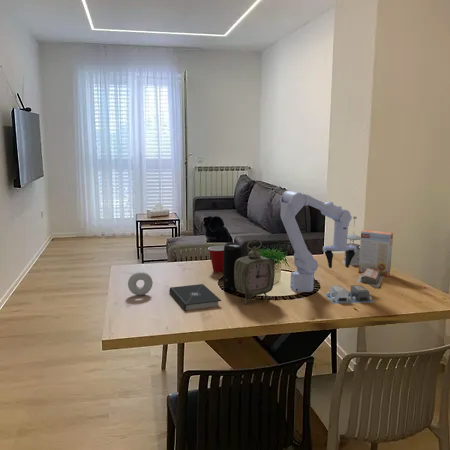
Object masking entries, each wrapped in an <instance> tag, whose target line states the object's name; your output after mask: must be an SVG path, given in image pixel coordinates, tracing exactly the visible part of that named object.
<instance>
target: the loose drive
mask: <svg viewBox="0 0 450 450" xmlns="http://www.w3.org/2000/svg"><path fill="white" fill-rule="evenodd" d="M349 292H350V295H351V296H352V297H356V300H357V301H358V302H359V301H369V296H370V290H368V289H366V288H365V287H364V286H363V285H360V284H359V285H357V284H355V285H350V291H349Z"/></svg>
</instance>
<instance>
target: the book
mask: <svg viewBox="0 0 450 450" xmlns="http://www.w3.org/2000/svg"><path fill="white" fill-rule="evenodd" d="M169 294H170V296H172V298H173V299H174V300H175V301H176V302H177V304H178V305H179V306H180V307H181V308H182V309H183V310H184V311H185V312H186V311H190V310H196V309H197V310H198V309H204V308H205V309H206V308H211V307H218V306H219V302H222V299H221V298H220V297H218V295H216V294H215V293H214V292H213V291H211V290H210V289H209V288H208V287H207V286H206V285H205V284H203V283H201V284H191V285H183V286H171V287H169Z"/></svg>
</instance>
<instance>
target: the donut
mask: <svg viewBox="0 0 450 450" xmlns="http://www.w3.org/2000/svg"><path fill="white" fill-rule="evenodd" d="M140 280H141V281H143V286H141V287H140V286H138V285H137V283H138V281H140ZM127 286H128V289H129V291H130V293H132V294H133V295H135V296H145V295H146V294H148V293H149V292H150V291H151V289H152V288H153V278H152V277H151V275H150V274H149V273H147V272H145V271H136V272H135V273H134V272H133V273H132V274H131V275H130V276H129V278H128V281H127Z"/></svg>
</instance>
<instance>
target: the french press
mask: <svg viewBox="0 0 450 450" xmlns="http://www.w3.org/2000/svg"><path fill="white" fill-rule="evenodd" d="M357 218H358V217H357V216H355V215H353V216H352V219H354V221H353V224H354V225H353V226H355V224H356V222H355V221H356V219H357ZM347 240H349V243H347V246H356V247H357V251H354V252H355V255H354V256H353V258H352V260H351V262H350V265H349V266H359V256H360V244H359V243H354V242H355V241H361V235H358V234H355V232H353V233H352V234H348V235H347ZM351 242H352V243H351ZM341 262H342V264H344V265H345V262H346V252H345V251H344V258H343V260H342V261H341Z"/></svg>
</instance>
